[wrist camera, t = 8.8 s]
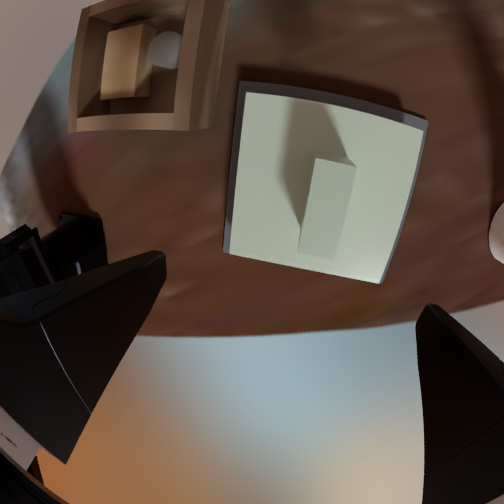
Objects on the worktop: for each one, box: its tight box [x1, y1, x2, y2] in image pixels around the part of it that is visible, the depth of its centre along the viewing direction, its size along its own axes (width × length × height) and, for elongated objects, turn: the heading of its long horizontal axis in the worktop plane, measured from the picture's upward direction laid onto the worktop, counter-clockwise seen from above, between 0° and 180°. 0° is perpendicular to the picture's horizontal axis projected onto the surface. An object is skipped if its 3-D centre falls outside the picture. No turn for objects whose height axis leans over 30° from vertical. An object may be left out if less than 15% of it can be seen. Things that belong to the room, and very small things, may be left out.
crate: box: [68, 0, 231, 132], centre depth 14 cm, size 10×10×4 cm
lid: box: [229, 92, 423, 284], centre depth 16 cm, size 11×11×6 cm
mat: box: [223, 81, 428, 283], centre depth 18 cm, size 13×13×1 cm
